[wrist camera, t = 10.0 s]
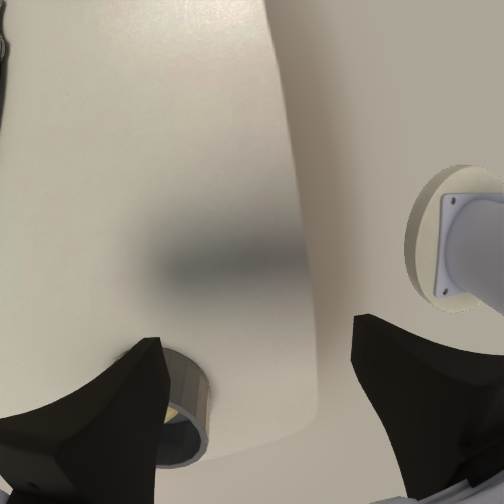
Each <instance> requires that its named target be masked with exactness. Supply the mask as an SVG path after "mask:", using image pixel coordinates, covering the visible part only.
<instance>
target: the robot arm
mask: <svg viewBox="0 0 504 504" xmlns="http://www.w3.org/2000/svg"><path fill="white" fill-rule="evenodd" d="M451 198H452V199H453V201H452V203H451ZM444 289H445V291H444ZM443 291H444V292H443ZM466 292H469V293H471V294H472V295H474V296H475V297H477V298H478V299H480V300H481V301H483V302H484V303H486V304H487V305H489V306H490V307H492V308H494V309H495V310H496V311H498V312H499V313H501V314H502V315H503V316H504V193H445V194H443V195H442V196H441V200H440V227H439V243H438V256H437V267H436V276H435V284H434V296H435V297H437V298H444V297H448V296H453V295H457V294H461V293H466ZM351 363H352V365H353V368H354V371H355V373H356V376H357V378H358V381H359V383H360V384H361V386H362V388H363V390H364V391H365V393H366V395H367V397H368V399H369V400H370V402H371V404H372V406H373V407H374V409H375V411H376V412H377V414H378V416H379V418H380V420H381V421H382V424H383V426H384V427H385V430H386V432H387V435H388V437H389V440H390V442H391V445H392V447H393V450H394V453H395V456H396V459H397V462H398V465H399V468H400V471H401V475H402V478H403V481H404V485H405V488H406V492H407V496H408V498H405V497H399V496H398V497H395V498H390V499H385V500H381V501H376V502H373V503H370V504H504V355H490V354H481V353H474V352H469V351H464V350H459V349H455V348H452V347H448V346H444V345H441V344H438V343H435V342H432V341H430V340H427V339H425V338H422V337H420V336H417V335H415V334H412V333H410V332H408V331H406V330H404V329H402V328H399V327H397V326H395V325H393V324H391V323H389V322H387V321H385V320H383V319H381V318H378V317H376V316H374V315H371V314H364V315H358V316H354V323H353V337H352V350H351ZM170 387H171V379H170V375H169V371H168V368H167V364H166V360H165V357H164V353H163V349H162V345H161V341H160V337H152V338H143V339H142V340H141V341H139V342H138V343H137V344H136V345H135V346H133V347H132V348H131V349H130V350H129V351H128V352H127V353H125V354H124V355H123V356H122V357H121V358H120V359H119V360H117V361H116V362H115V363H114V364H113V365H111V366H110V367H109V368H108V369H106V370H105V371H104V372H102V373H101V374H100V375H99V376H97V377H96V378H95V379H93V380H92V381H90V382H89V383H87V384H86V385H84V386H83V387H81V388H80V389H78V390H76V391H75V392H73V393H71V394H69V395H67V396H65V397H63V398H61V399H59V400H57V401H55V402H53V403H51V404H48V405H46V406H43V407H41V408H38V409H35V410H32V411H29V412H26V413H22V414H18V415H14V416H10V417H6V418H1V419H0V475H1V476H2V477H3V479H4V480H5V481H6V482H7V483H8V484H9V485H10V486H11V487H12V488H13V491H12V493H11V495H8V494H7V493H5V492H4V491H2V490H1V489H0V504H154V487H155V471H156V459H157V453H158V447H159V443H160V439H161V434H162V430H163V426H164V422H165V418H166V413H167V409H168V405H169V398H170Z"/></svg>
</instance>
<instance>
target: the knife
mask: <svg viewBox="0 0 504 504" xmlns="http://www.w3.org/2000/svg"><path fill="white" fill-rule="evenodd" d="M1 6H2V0H0V10H1ZM4 51H5V42H4V41H3V40H2V37H1V35H0V72H1V60H2V58H3V56H4Z"/></svg>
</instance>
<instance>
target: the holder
mask: <svg viewBox="0 0 504 504" xmlns="http://www.w3.org/2000/svg"><path fill="white" fill-rule="evenodd" d="M162 349H163V353H164V357H165V360H166V364H167V368H168V371H169V375H170V379H171V387H170V398H169V405H168V407H170V408H173V409H175V410H177V411H178V413H177V414H176V415H175V416H174V417H173V418H172V419H170V420H169V421H167V422H166V423H164V426H163V430H162V434H161V439H160V443H159V447H158V453H157V459H156V468H160V469H173V468H179V467H185V466H188V465H190V464H192V463H194V462H196V461H198V460H199V459H200V458H201V457H202V456H203V455H204V454H205V452H206V450H207V446H208V442H209V421H210V401H211V396H210V386H209V382H208V380H207V378H206V376H205V374H204V373H203V371H202V370H201V369H200V368H199V367H198V366H197V365H196V364H195V363H194V362H193V361H191V360H190V359H188V358H187V357H185V356H183V355H182V354H179V353H177V352H175V351H172V350H169V349H165V348H162ZM127 352H128V351H127ZM127 352H125V353H127ZM125 353H124V354H125ZM124 354H122V355H121V356H120V357H119V358H118V359H117V360H119V359H120V358H121V357H122V356H123V355H124ZM117 360H116V361H117ZM116 361H115V362H116Z"/></svg>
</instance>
